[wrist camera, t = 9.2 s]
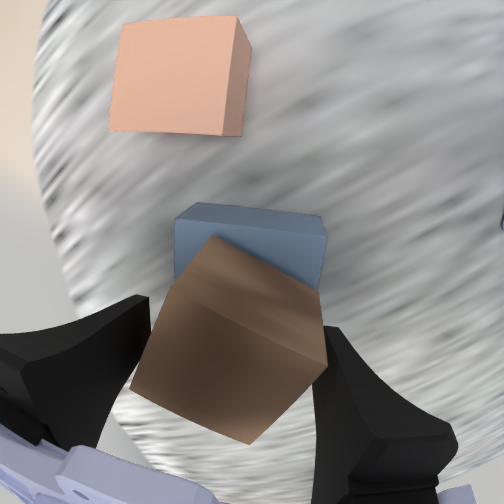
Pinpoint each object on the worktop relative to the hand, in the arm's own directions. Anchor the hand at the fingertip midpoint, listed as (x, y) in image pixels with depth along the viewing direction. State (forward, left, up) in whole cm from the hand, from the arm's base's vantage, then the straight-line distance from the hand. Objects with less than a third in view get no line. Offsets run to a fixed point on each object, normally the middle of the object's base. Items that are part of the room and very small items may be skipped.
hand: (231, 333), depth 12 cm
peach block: (+4, -10, -7) cm, 13 cm away
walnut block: (0, 0, -2) cm, 2 cm away
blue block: (0, 0, -7) cm, 7 cm away
